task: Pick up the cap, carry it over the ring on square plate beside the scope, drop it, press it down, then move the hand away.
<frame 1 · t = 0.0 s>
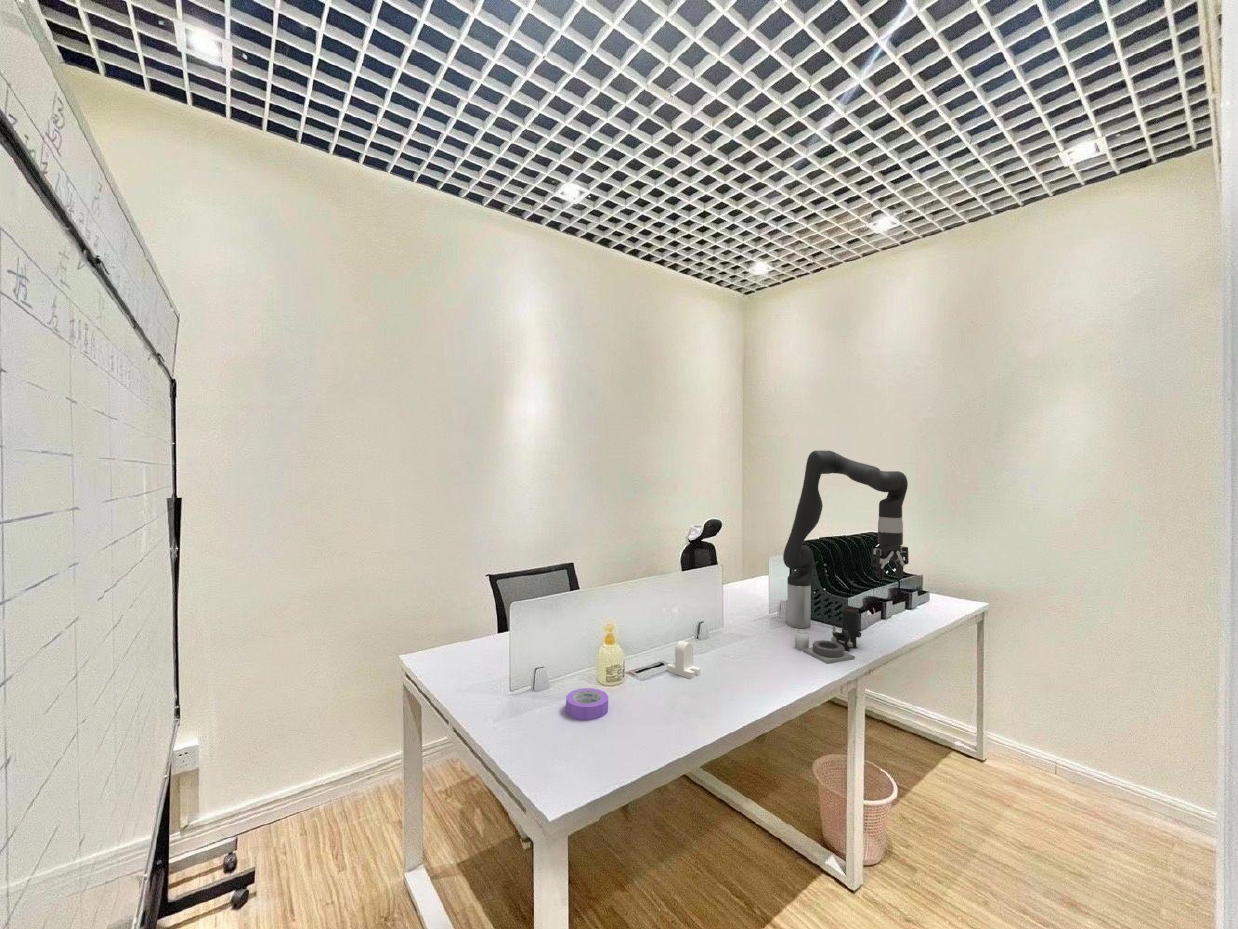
hand: (889, 578, 176), 29 cm above the table, fingers open, 8 cm apart
masking tape: (587, 711, 145), on the table
scope: (848, 647, 193), on the table
cable organizer: (683, 673, 170), on the table
ring on square plate: (828, 655, 185), on the table
cap: (801, 648, 192), on the table
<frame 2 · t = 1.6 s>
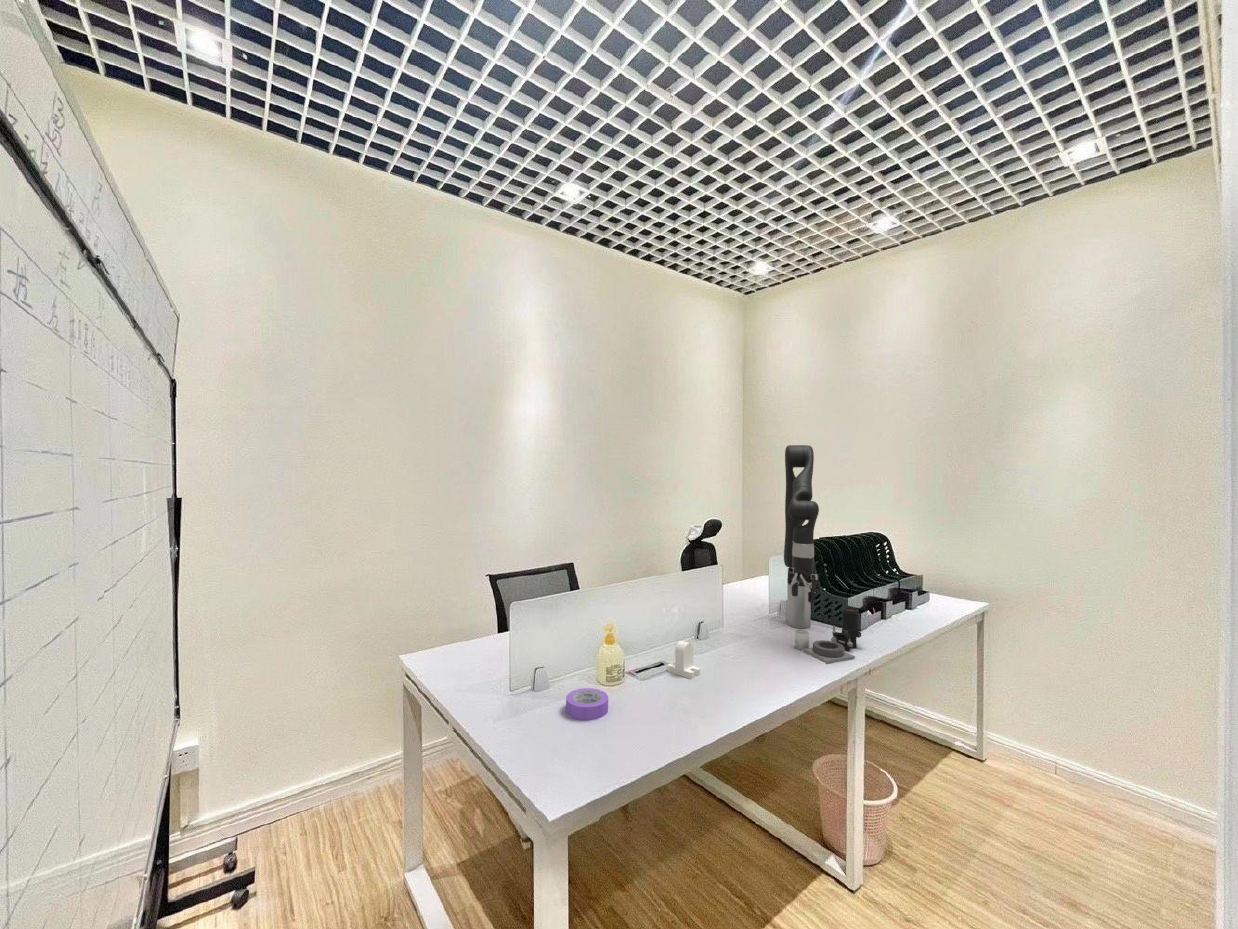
hand: (802, 599, 192), 18 cm above the table, fingers open, 8 cm apart
nothing on the table moved.
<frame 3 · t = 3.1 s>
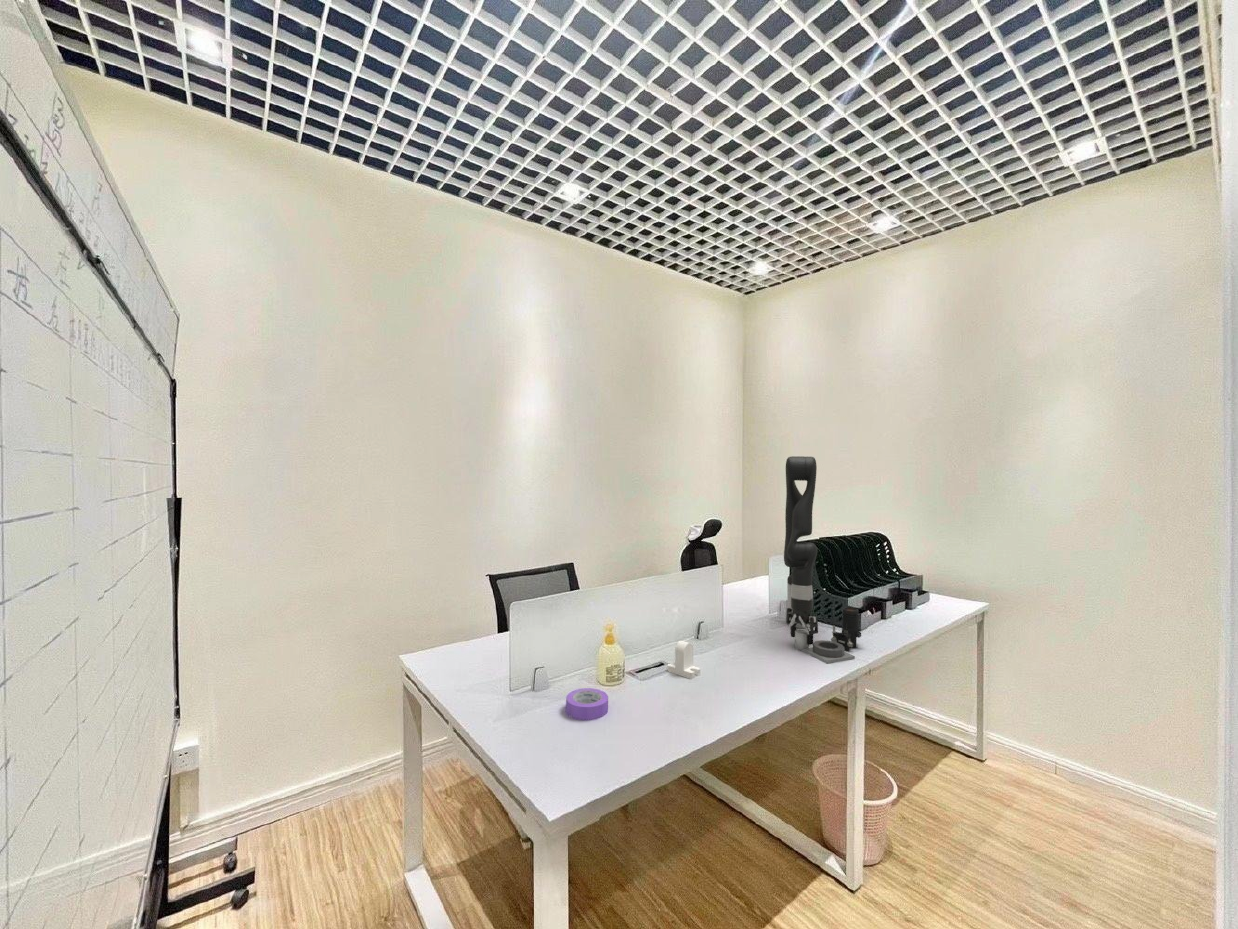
hand: (801, 640, 192), 3 cm above the table, fingers open, 8 cm apart
nothing on the table moved.
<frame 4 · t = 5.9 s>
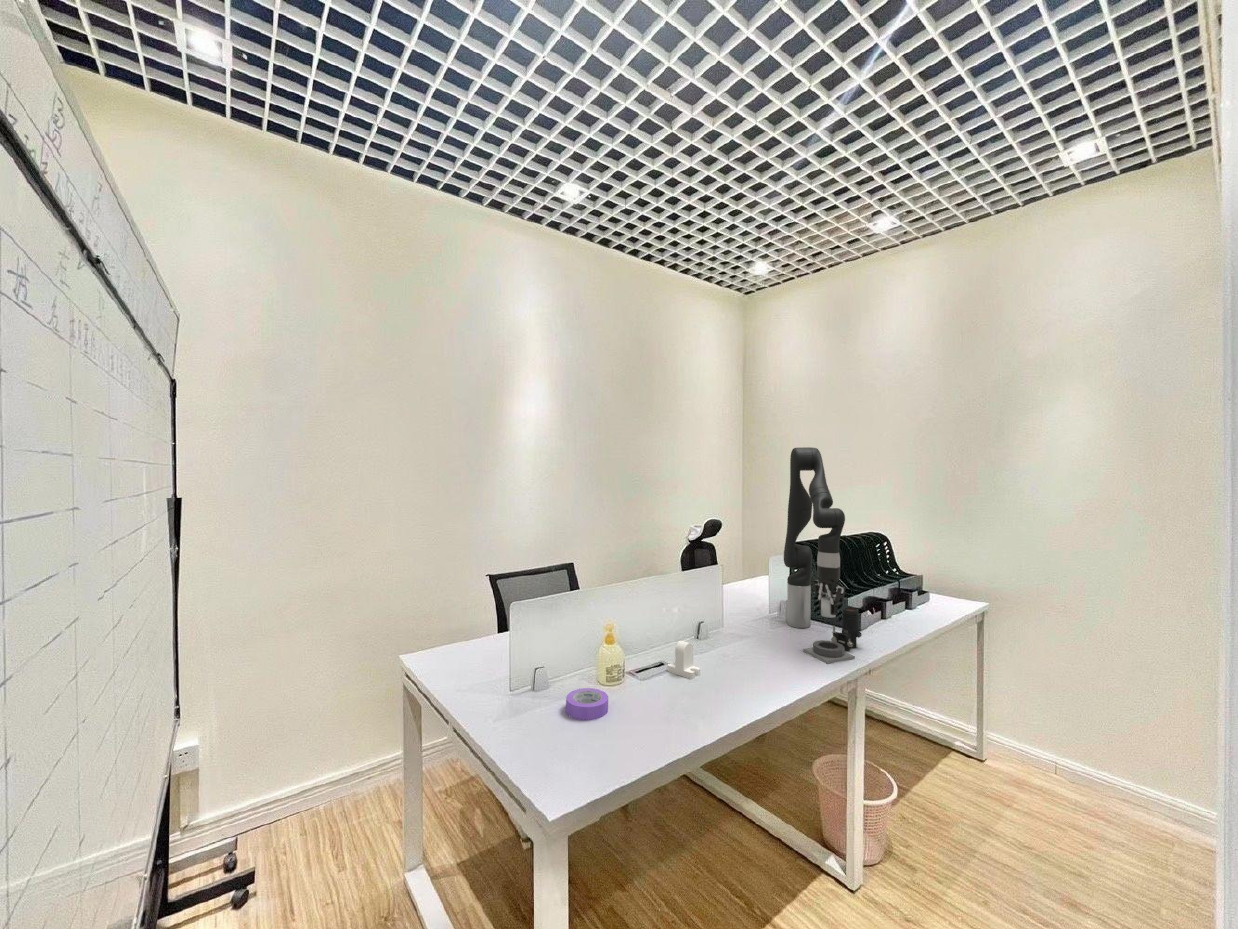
hand: (828, 612, 185), 15 cm above the table, fingers closed on cap, 4 cm apart
cap: (828, 615, 185), point 14 cm above the table, touching gripper
everything else where it was.
when the fingers open (4 cm above the table, at t = 8.3 s): cap drops 2 cm, resting on ring on square plate.
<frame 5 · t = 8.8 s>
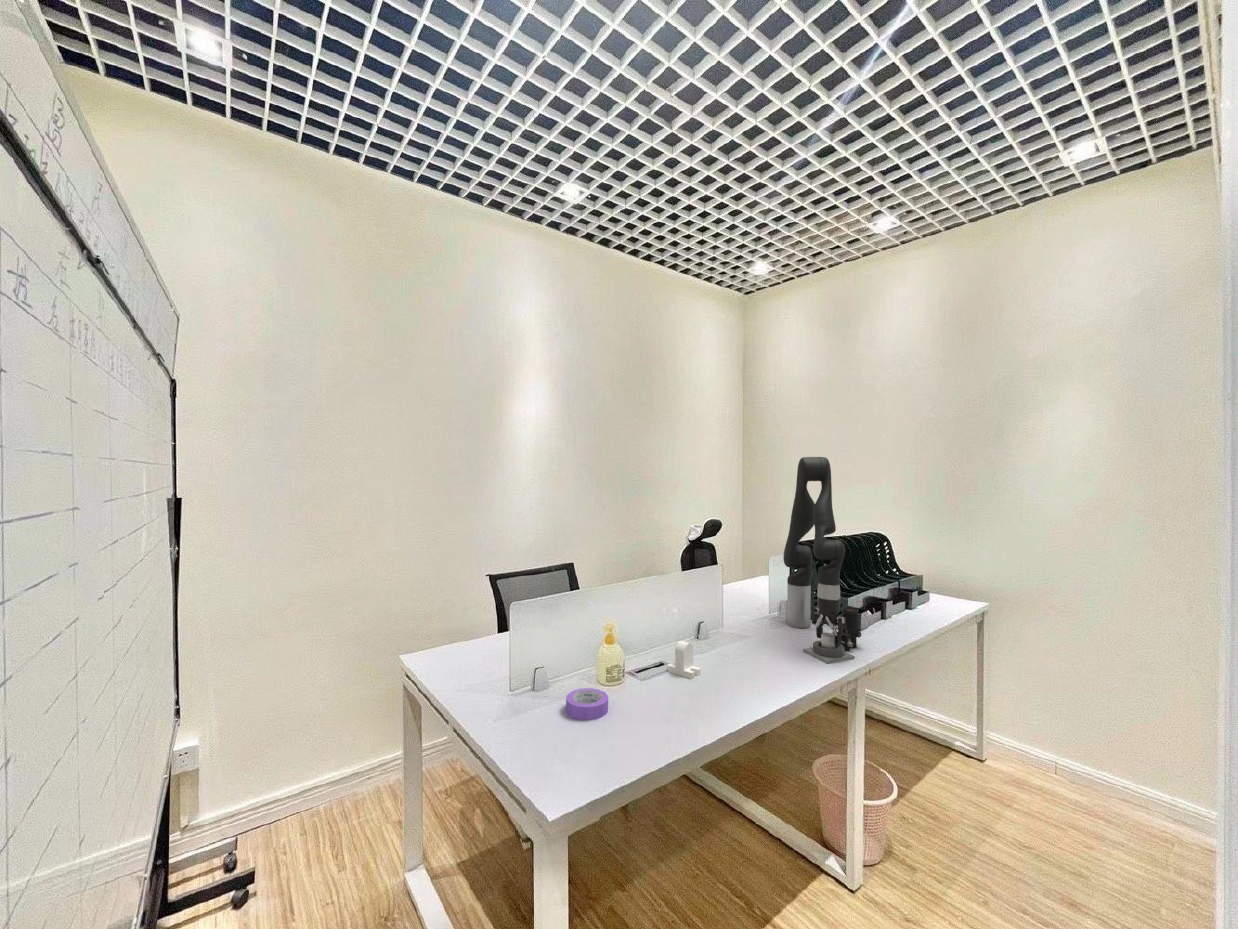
hand: (828, 641, 185), 5 cm above the table, fingers open, 8 cm apart
cap: (828, 652, 185), point 1 cm above the table, touching ring on square plate
everything else where it was.
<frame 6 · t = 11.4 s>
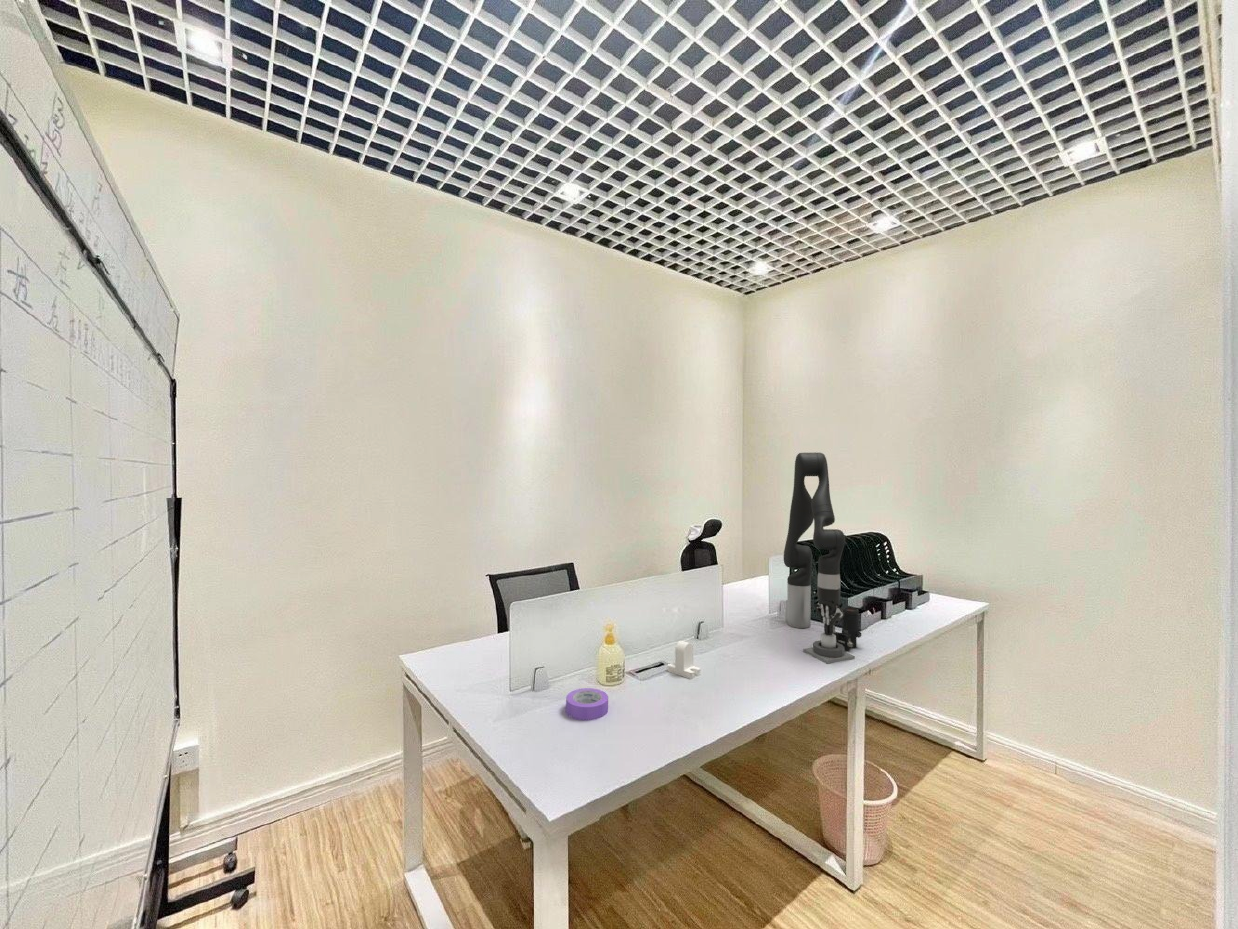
hand: (828, 634, 185), 7 cm above the table, fingers closed
cap: (828, 651, 185), point 1 cm above the table, touching ring on square plate, gripper
everything else where it was.
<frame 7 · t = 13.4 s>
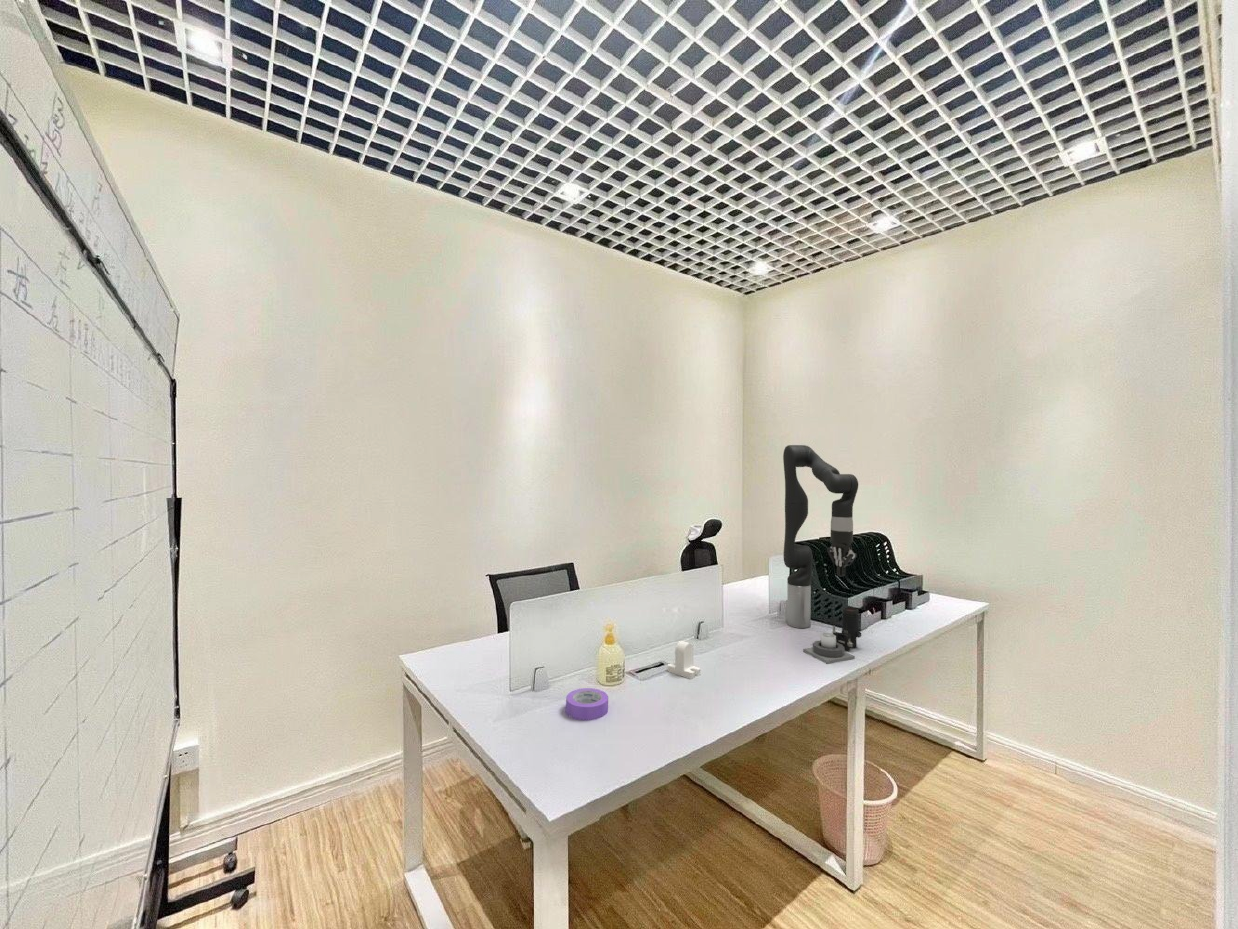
hand: (841, 576, 190), 27 cm above the table, fingers closed
cap: (828, 652, 185), point 1 cm above the table, touching ring on square plate
everything else where it was.
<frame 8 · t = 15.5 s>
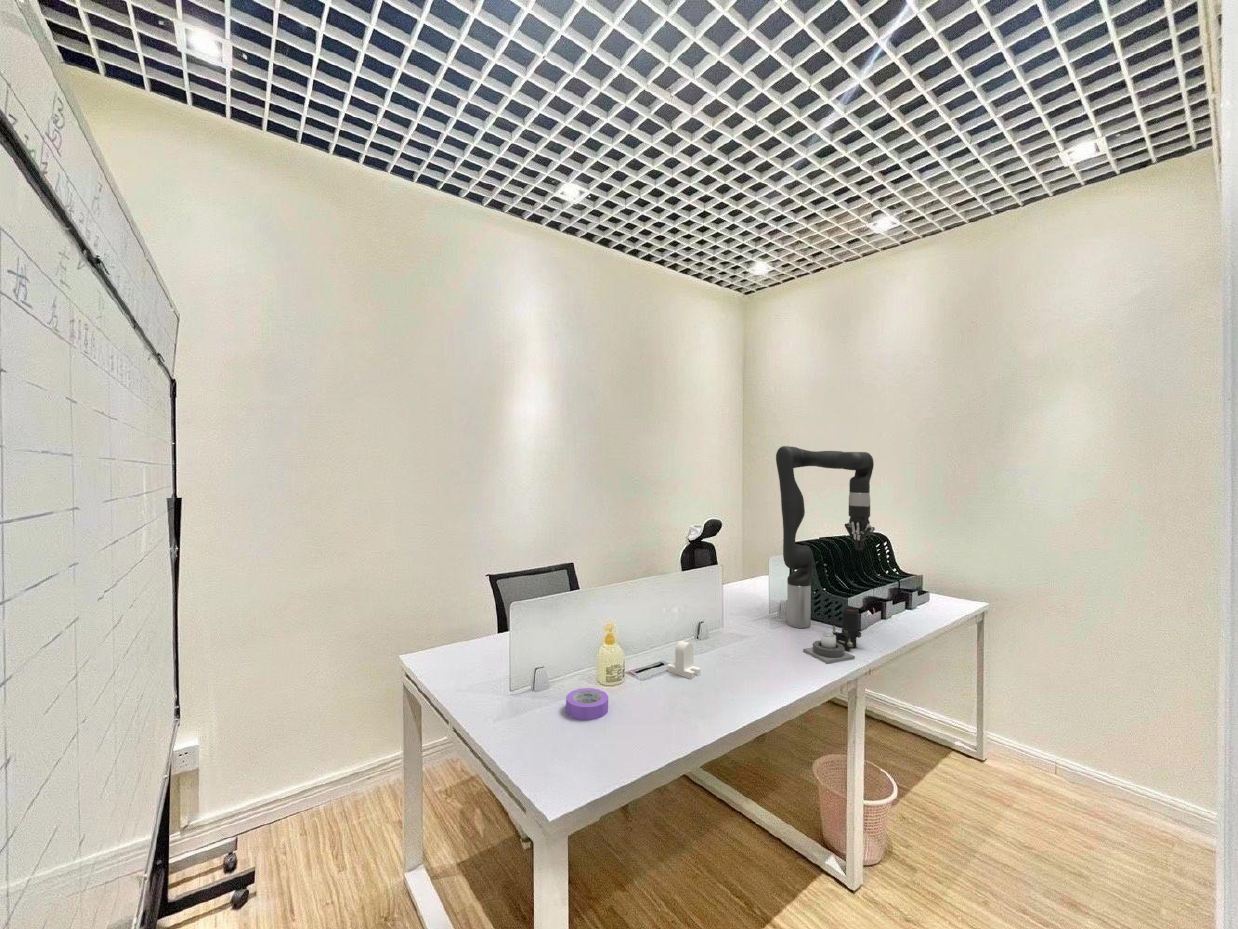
hand: (859, 549, 199), 35 cm above the table, fingers closed
nothing on the table moved.
at the end: cap 0.2 cm off-centre on the ring on square plate, point 1.0 cm above the ring on square plate's base; cap tilted 0°; the gripper is holding nothing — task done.
